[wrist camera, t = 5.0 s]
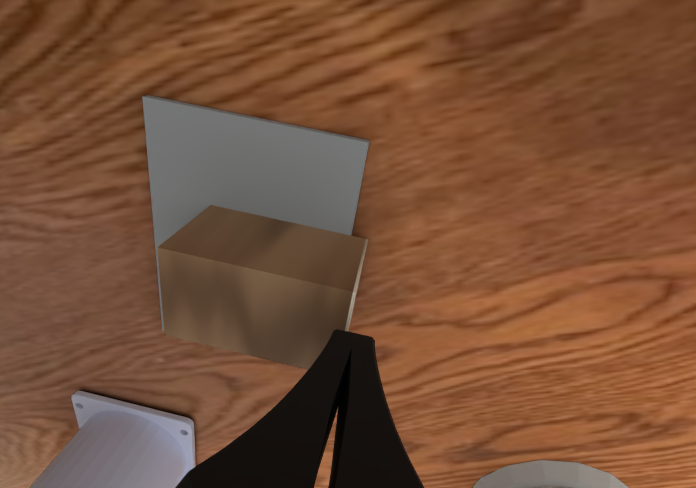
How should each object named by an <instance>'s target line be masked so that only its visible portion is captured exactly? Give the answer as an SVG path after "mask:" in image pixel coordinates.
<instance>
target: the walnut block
mask: <svg viewBox="0 0 696 488" xmlns="http://www.w3.org/2000/svg"><path fill="white" fill-rule="evenodd" d="M367 243H368V239H365V238H360V237H356V236H351V235H346V234H342V233H337V232H333V231H328V230H324V229H319V228H314V227H310V226H305V225H301V224H296V223H292V222H287V221H282V220H278V219H273V218H269V217H264V216H260V215H255V214H250V213H246V212H241V211H237V210H232V209H228V208H223V207H218V206H214V205H210V206H209V207H207V208H206V209H205V210H204V211H202V212H201V213H200V214H199V215H197V216H196V217H195V218H194V219H192V220H191V221H190V222H188V223H187V224H186V225H185V226H183V227H182V228H181V229H180V230H178V231H177V232H176V233H175V234H173V235H172V236H171V237H170V238H168V239H167V240H166V241H165V242H163V243H162V244H161V245H160V246H158V247H157V251H158V263H159V275H160V288H161V300H162V312H163V324H164V335H167V336H171V337H175V338H179V339H183V340H187V341H192V342H196V343H200V344H204V345H208V346H212V347H217V348H221V349H225V350H229V351H233V352H237V353H242V354H246V355H250V356H254V357H258V358H262V359H267V360H271V361H275V362H279V363H283V364H287V365H292V366H296V367H300V368H304V369H308V370H309V369H310V367H311V366H312V365H313V363H314V362H315V361H316V359H317V358H318V357H319V355H320V354H321V352H322V351H323V349H324V348H325V346H326V344H327V343H328V341H329V339H330V337H331V335H332V333H333V331H334V330H336V329H339V330H343V331H347V332H348V330H349V326H350V321H351V317H352V313H353V308H354V303H355V299H356V294H357V289H358V285H359V280H360V276H361V271H362V266H363V262H364V257H365V252H366V248H367Z"/></svg>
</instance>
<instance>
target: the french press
mask: <svg viewBox="0 0 696 488" xmlns="http://www.w3.org/2000/svg"><path fill="white" fill-rule="evenodd" d="M473 488H629V487H627V486H626V485H625V484H624V483H622V482H621V481H620V480H618V479H617V478H616V477H615V476H613V475H612V474H610V473H607V472H604V471H601V470H598V469H595V468H593V467H590V466H587V465H584V464H581V463H576V462H562V461H549V460H537V461H531V462H525V463H519V464H513V465H507V466H504V467H502V468H500V469H498V470H496V471H494V472H492V473H490V474H488V475H486V476H484V477H482V478H480V479H479V480H478V482H477V483H476V484H475V485H474V486H473Z"/></svg>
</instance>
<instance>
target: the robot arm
mask: <svg viewBox="0 0 696 488" xmlns="http://www.w3.org/2000/svg"><path fill="white" fill-rule="evenodd" d="M71 399H72V403H73V407H74V410H75V414H76V418H77V422H78V426H79V431H78V432H77V433H76V434H75V435H74V437H73V438H72V439H71V440H70V441H69V442H68V444H67V445H66V446H65V447H64V448H63V449H62V451H61V452H60V453H59V454H58V455H57V456H56V457H55V459H54V460H53V461H52V462H51V463H50V464H49V466H48V467H47V468H46V469H45V470H44V471H43V472H42V474H41V475H40V476H39V477H38V478H37V479H36V481H35V482H34V483H33V484H32V485H31V486H30V488H314V485H315V480H316V477H317V473H318V469H319V466H320V463H321V460H322V456H323V453H324V450H325V447H326V444H327V440H328V437H329V434H330V431H331V428H332V424H333V421H334V418H335V415H336V412H337V408H338V415H337V424H336V432H335V441H334V450H333V459H332V468H331V475H330V481H329V487H328V488H424V486H423V484H422V483H421V481H420V479H419V477H418V475H417V473H416V471H415V469H414V467H413V465H412V463H411V461H410V459H409V457H408V455H407V453H406V451H405V448H404V446H403V444H402V442H401V439H400V437H399V435H398V432H397V430H396V427H395V424H394V422H393V419H392V416H391V413H390V410H389V407H388V404H387V401H386V398H385V394H384V391H383V387H382V383H381V379H380V375H379V371H378V366H377V360H376V353H375V340H374V339H373V338H372V337H369V336H365V335H360V334H356V333H352V332H347V331H343V330H339V329H336V330H334V331H333V333H332V335H331V337H330V339H329V341H328V343H327V344H326V346H325V348H324V349H323V351H322V352H321V354H320V355H319V357H318V358H317V359H316V361H315V362H314V363H313V365H312V366H311V367H310V369H309V370H308V371H307V372H306V374H305V375H304V376H303V377H302V378H301V379H300V381H299V382H298V383H297V384H296V385H295V386H294V387H293V389H292V390H291V391H290V392H289V393H288V394H287V395H286V396H285V397H284V398H283V399H282V400H281V401H280V402H279V403H278V404H277V405H276V406H275V407H274V408H273V409H272V410H271V411H270V412H268V413H267V414H266V415H265V416H264V417H263V418H262V419H261V420H259V421H258V422H257V423H256V424H255V425H254V426H252V427H251V428H250V429H249V430H247V431H246V432H245V433H243V434H242V435H241V436H239V437H238V438H237V439H235V440H234V441H233V442H231V443H230V444H229V445H227V446H226V447H225V448H223V449H222V450H220V451H219V452H218V453H216V454H214V455H213V456H211V457H210V458H208V459H207V460H205V461H204V462H202V463H201V464H199V465H197V466H196V461H195V436H194V423H193V421H192V420H191V419H190V418H187V417H183V416H179V415H175V414H171V413H167V412H163V411H159V410H156V409H152V408H148V407H144V406H140V405H136V404H132V403H128V402H124V401H120V400H116V399H112V398H108V397H104V396H100V395H96V394H92V393H88V392H84V391H76V392H75V393H74V394H73V395H72V396H71ZM338 405H339V406H338Z"/></svg>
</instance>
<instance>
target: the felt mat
mask: <svg viewBox="0 0 696 488" xmlns="http://www.w3.org/2000/svg"><path fill="white" fill-rule="evenodd" d="M142 97H143V109H144V120H145V132H146V144H147V156H148V167H149V179H150V191H151V203H152V214H153V226H154V238H155V250H156V261H157V273H158V285H159V296H160V308H161V320H162V330H163V331H164V324H163V312H162V300H161V288H160V275H159V263H158V251H157V247H158V246H160V245H161V244H162V243H163V242H165V241H166V240H167V239H168V238H170V237H171V236H172V235H173V234H175V233H176V232H177V231H178V230H180V229H181V228H182V227H183V226H185V225H186V224H187V223H188V222H190V221H191V220H192V219H194V218H195V217H196V216H197V215H199V214H200V213H201V212H202V211H204V210H205V209H206V208H207V207H209V206H210V205H214V206H218V207H223V208H228V209H232V210H237V211H241V212H246V213H250V214H255V215H260V216H264V217H269V218H273V219H278V220H282V221H287V222H292V223H296V224H301V225H305V226H310V227H314V228H319V229H324V230H328V231H333V232H337V233H342V234H346V235H352V230H353V225H354V220H355V214H356V209H357V204H358V199H359V193H360V188H361V183H362V178H363V173H364V167H365V162H366V157H367V152H368V146H369V141H370V140H366V139H361V138H356V137H351V136H346V135H341V134H336V133H331V132H327V131H322V130H317V129H312V128H307V127H302V126H297V125H292V124H287V123H282V122H277V121H273V120H268V119H263V118H258V117H253V116H248V115H243V114H238V113H233V112H228V111H223V110H219V109H214V108H209V107H204V106H199V105H194V104H189V103H184V102H179V101H174V100H169V99H165V98H160V97H155V96H150V95H147V96H142Z"/></svg>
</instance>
